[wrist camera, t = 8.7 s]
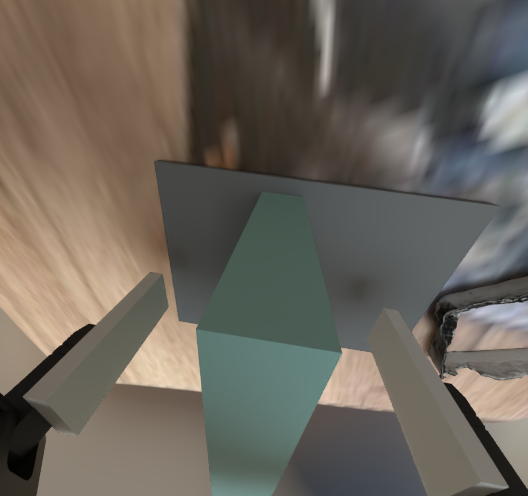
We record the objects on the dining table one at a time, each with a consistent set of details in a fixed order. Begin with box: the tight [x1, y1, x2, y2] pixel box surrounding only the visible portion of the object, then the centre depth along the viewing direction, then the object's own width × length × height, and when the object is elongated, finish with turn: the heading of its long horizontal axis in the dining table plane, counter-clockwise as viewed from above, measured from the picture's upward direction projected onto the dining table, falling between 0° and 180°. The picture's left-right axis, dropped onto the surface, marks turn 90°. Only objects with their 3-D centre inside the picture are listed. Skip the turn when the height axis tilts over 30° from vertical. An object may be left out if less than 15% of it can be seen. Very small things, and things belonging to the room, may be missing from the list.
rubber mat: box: [154, 160, 501, 352], centre depth 15 cm, size 14×20×1 cm
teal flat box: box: [196, 192, 342, 496], centre depth 11 cm, size 3×12×10 cm, turn 174°
